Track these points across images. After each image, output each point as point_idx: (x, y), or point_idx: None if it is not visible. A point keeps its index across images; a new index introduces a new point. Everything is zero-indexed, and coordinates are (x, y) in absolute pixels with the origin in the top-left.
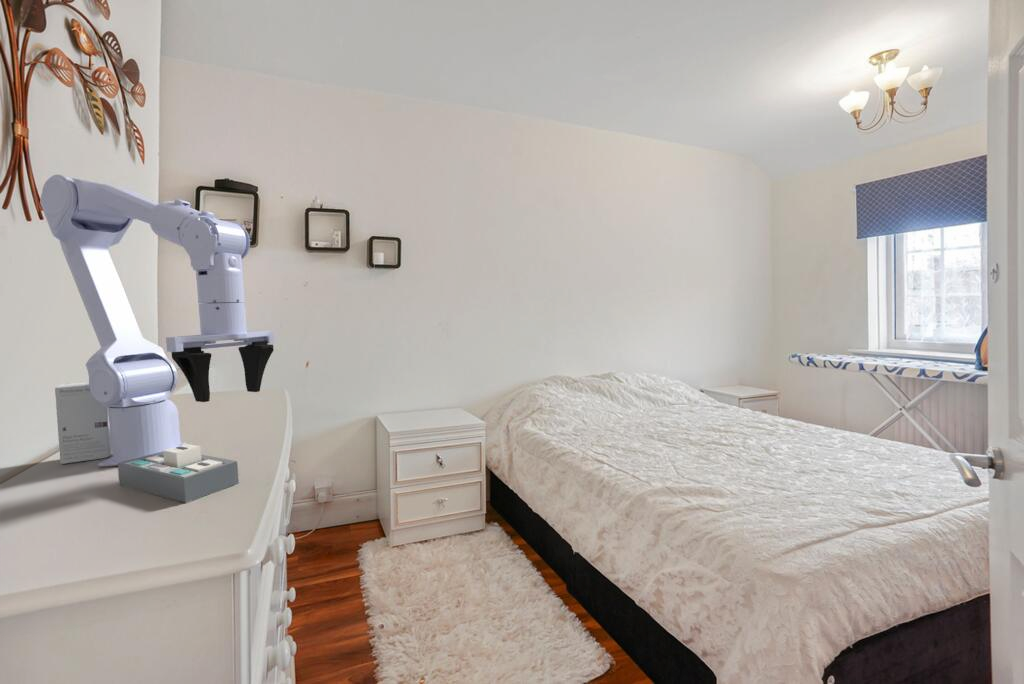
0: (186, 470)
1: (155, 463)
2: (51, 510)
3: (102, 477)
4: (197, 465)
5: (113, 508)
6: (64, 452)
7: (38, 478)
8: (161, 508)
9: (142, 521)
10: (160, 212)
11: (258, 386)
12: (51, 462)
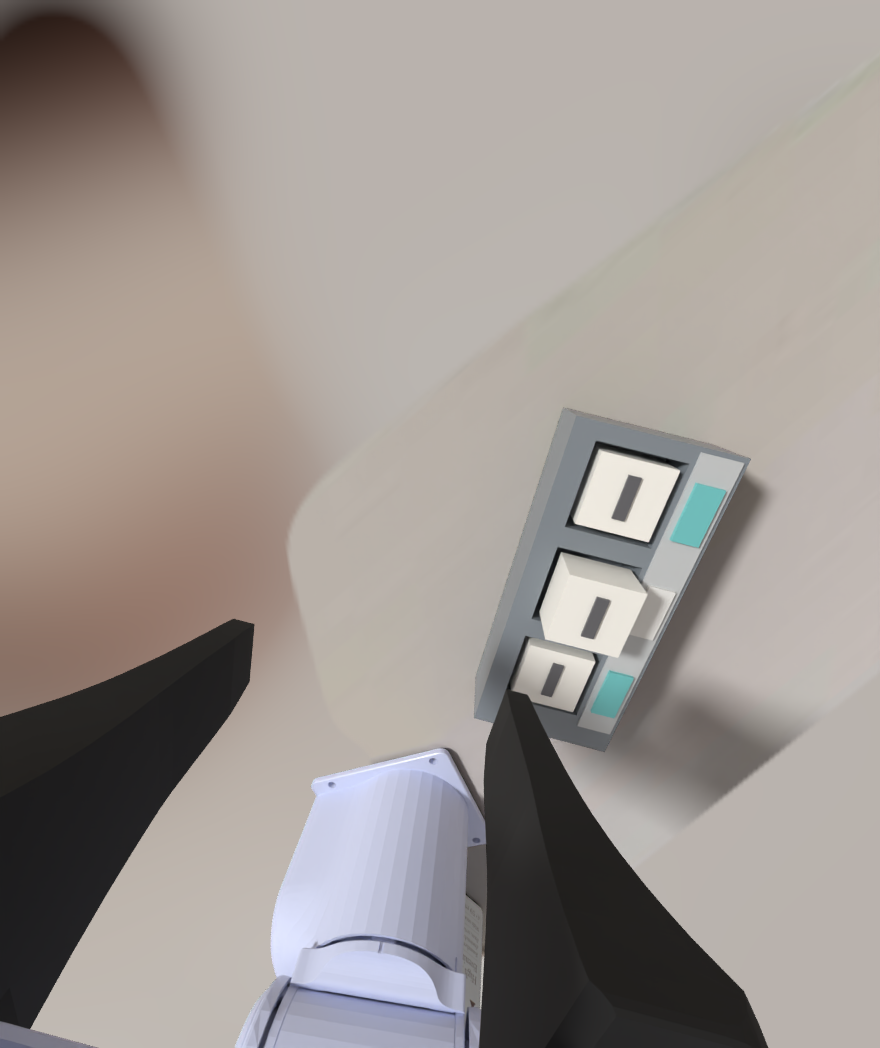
0: (694, 500)
1: None
2: (737, 717)
3: None
4: (635, 510)
5: (734, 600)
6: (477, 935)
7: None
8: (743, 482)
9: (827, 458)
10: None
11: (227, 630)
12: None
